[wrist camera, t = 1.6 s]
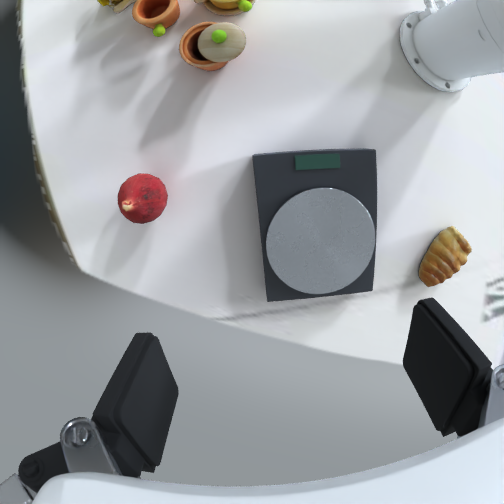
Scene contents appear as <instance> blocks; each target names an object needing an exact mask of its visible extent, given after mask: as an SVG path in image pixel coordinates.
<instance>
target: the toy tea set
mask: <svg viewBox="0 0 504 504" xmlns="http://www.w3.org/2000/svg"><path fill="white" fill-rule="evenodd" d="M97 1H98V2H99V3H100V4H101V5H103V6H106V5H109V6H110V7H112V8H114V9H113V11H114V12H115V13H117V14H118V13H120V12H121V11H123V10H124V9H125V8H126V7H127V6H128V5H130V4H132V3H133V2H135V1H136V0H97ZM194 2H195V3H197V4H201V3H204V5H205V7H206V8H207V9H208V10H210V11H211V12H213V13H215V14H218V15H225V16H228V15H236V14H240V13H242V12H247V11H249V10H250V9H251V8H252V5H253V4H254V2H255V0H194ZM179 15H180V8H179V4H178V1H177V0H137V1H136V2H135V4H134V6H133V9H132V16H133V18H134V20H135V21H136V22H138V23H140V24H142V25H145V26H147V27H149V28H152V29H153V34H154V36H156V37H160V36H163V35H164V34H165V28H168V27H170V26H171V25H173V24H174V23H175V22H176V21H177V19H178V17H179ZM245 44H246V37H245V34H244V32H243V30H242V29H241V28H240V27H239V26H237V25H235V24H233V23H228V22H219V23H215V22H202V23H199V24H196V25H194V26H192V27H191V28H190V29H188V30H187V31H186V32H185V33H184V35H183V36H182V38H181V41H180V44H179V51H180V54H181V57H182V58H183V59H184V60H185V62H187V63H188V64H190V65H192V66H195V67H197V68H200V69H203V70H207V71H213V70H217V69H220V68H222V67H223V66H225V65H226V64H227V63H228V61H230V60H232V59H234V58H236V57H237V56H238V55H240V54H241V52H242V51H243V49H244V47H245Z"/></svg>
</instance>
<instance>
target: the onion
mask: <svg viewBox="0 0 504 504" xmlns="http://www.w3.org/2000/svg"><path fill="white" fill-rule="evenodd" d="M167 197H168V195H167V191H166V188H165V185H164V184H163V183H162V181H161V180H160V179H159V178H157V177H155V176H153V175H150V174H137V175H134V176H132V177H130V178H128V179H127V180H126V181H125V182H124V183H123V184H122V185H121V187H120V190H119V193H118V205H119V208H120V211H121V213H122V214H123V215H124V216H125V217H126V218H127V219H128V220H130V221H132V222H133V223H140V224H144V223H147V222H151V221H153V220H155V219H156V218H157V217H159V216H160V215H161V213H162V212H163V210H164V208H165V206H166V204H167Z"/></svg>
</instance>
